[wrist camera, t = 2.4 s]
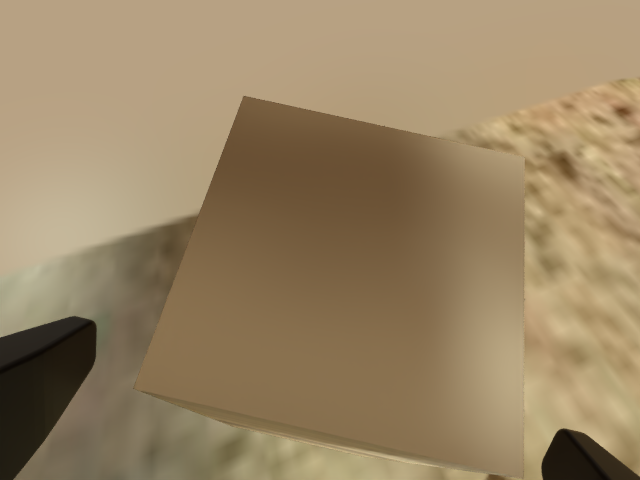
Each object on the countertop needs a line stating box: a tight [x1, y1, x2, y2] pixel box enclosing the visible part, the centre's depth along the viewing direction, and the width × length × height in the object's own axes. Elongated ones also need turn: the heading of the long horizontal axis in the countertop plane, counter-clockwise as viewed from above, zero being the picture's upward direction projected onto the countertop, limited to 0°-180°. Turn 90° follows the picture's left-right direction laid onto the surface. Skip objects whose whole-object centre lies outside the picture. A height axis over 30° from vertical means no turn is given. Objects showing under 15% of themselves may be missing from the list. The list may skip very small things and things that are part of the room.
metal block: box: [133, 96, 525, 479], centre depth 12 cm, size 5×5×12 cm
